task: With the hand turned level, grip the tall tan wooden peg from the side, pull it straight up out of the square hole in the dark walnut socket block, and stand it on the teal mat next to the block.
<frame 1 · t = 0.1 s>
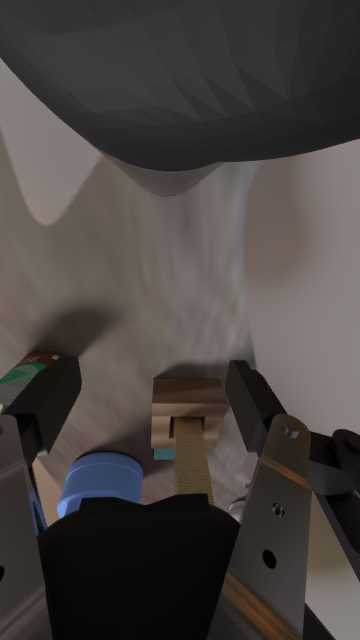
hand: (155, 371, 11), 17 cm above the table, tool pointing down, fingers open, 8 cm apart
water jug: (108, 469, 47), on the table
tan wooden peg: (189, 454, 30), in the socket block
socket block: (184, 401, 37), on the table
teal mat: (178, 442, 43), on the table
food container: (38, 362, 32), on the table
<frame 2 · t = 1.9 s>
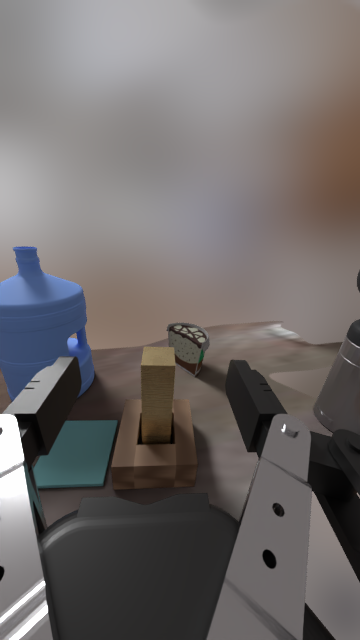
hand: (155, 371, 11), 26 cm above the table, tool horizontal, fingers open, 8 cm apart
water jug: (56, 384, 45), on the table
tan wooden peg: (157, 408, 30), in the socket block
socket block: (156, 448, 34), on the table
teal mat: (78, 450, 33), on the table
food container: (189, 363, 55), on the table
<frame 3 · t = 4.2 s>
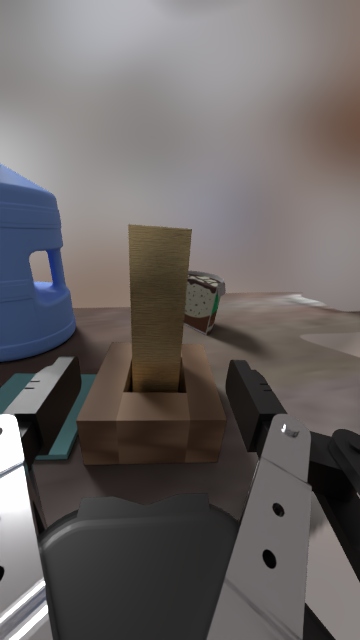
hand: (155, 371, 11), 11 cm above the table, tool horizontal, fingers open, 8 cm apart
water jug: (23, 337, 34), on the table
tan wooden peg: (157, 336, 19), in the socket block
socket block: (155, 410, 22), on the table
teal mat: (37, 410, 21), on the table
food container: (198, 323, 44), on the table
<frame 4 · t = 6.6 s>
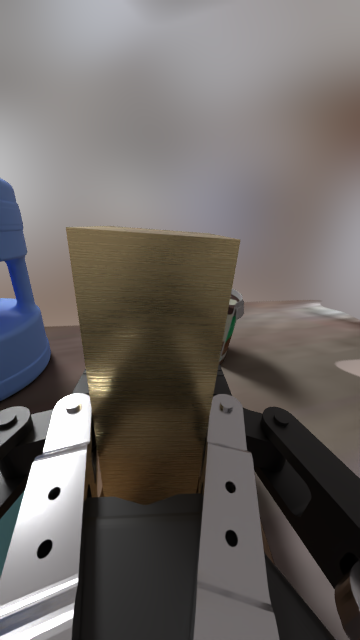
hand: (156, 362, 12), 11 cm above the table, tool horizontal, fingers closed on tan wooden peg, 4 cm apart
tan wooden peg: (153, 428, 10), in the socket block, touching gripper
socket block: (151, 522, 14), on the table
food container: (206, 346, 36), on the table
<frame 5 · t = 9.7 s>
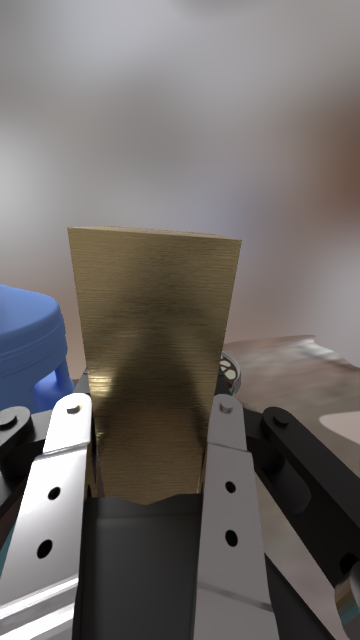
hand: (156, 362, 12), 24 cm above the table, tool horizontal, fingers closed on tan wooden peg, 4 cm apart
water jug: (26, 438, 32), on the table
tan wooden peg: (154, 428, 10), point 22 cm above the table, touching gripper
food container: (209, 400, 42), on the table
when the fingers open (13 cm above the table, at t = 12.7 s): tan wooden peg drops 1 cm, resting on teal mat.
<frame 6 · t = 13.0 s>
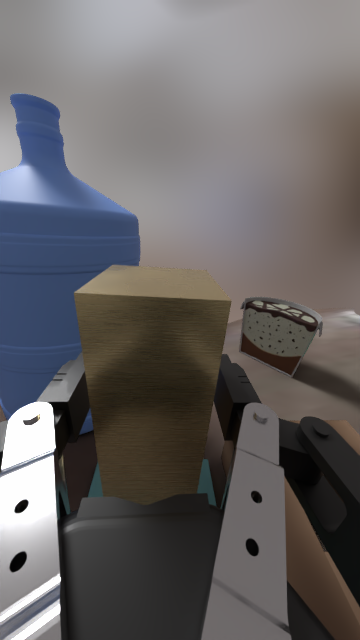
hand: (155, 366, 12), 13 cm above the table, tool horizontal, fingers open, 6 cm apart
water jug: (81, 388, 28), on the table
tan wooden peg: (153, 450, 11), on the teal mat, point 10 cm above the table
socket block: (309, 529, 16), on the table
teal mat: (150, 537, 15), on the table
food container: (270, 358, 38), on the table
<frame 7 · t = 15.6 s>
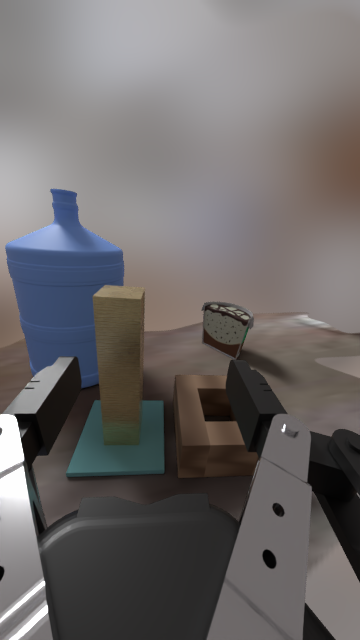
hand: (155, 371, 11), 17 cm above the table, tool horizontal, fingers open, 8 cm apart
water jug: (82, 364, 39), on the table
tan wooden peg: (123, 371, 23), on the teal mat, point 10 cm above the table
socket block: (215, 432, 28), on the table
teal mat: (124, 433, 27), on the table
food container: (225, 347, 50), on the table
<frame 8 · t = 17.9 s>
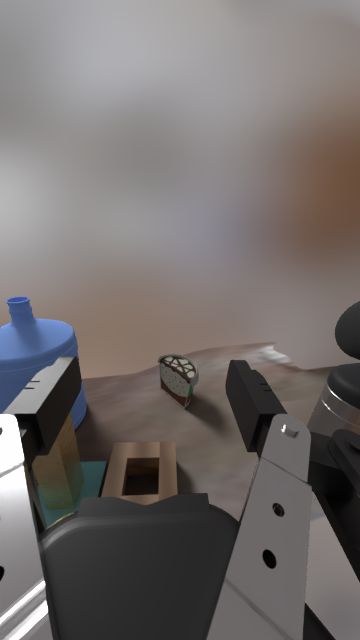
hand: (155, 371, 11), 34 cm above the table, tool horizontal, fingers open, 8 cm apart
water jug: (49, 419, 47), on the table
tan wooden peg: (57, 458, 30), on the teal mat, point 10 cm above the table
socket block: (142, 493, 35), on the table
teal mat: (67, 495, 34), on the table
food container: (180, 393, 57), on the table
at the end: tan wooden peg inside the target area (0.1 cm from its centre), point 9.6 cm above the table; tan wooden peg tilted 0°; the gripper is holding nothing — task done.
